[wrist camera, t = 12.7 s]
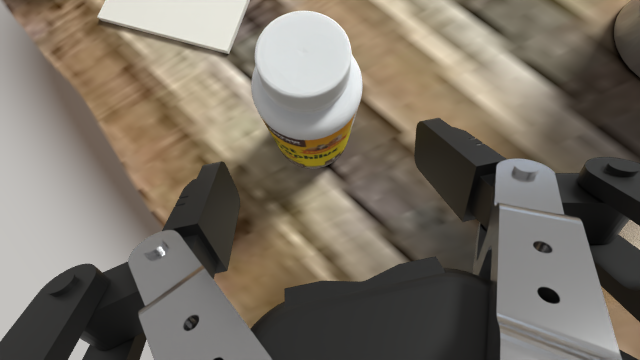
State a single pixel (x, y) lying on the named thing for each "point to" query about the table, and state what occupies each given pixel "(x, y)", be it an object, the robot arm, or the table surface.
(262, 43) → the supplement bottle
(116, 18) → the white square tile
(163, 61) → the table surface
